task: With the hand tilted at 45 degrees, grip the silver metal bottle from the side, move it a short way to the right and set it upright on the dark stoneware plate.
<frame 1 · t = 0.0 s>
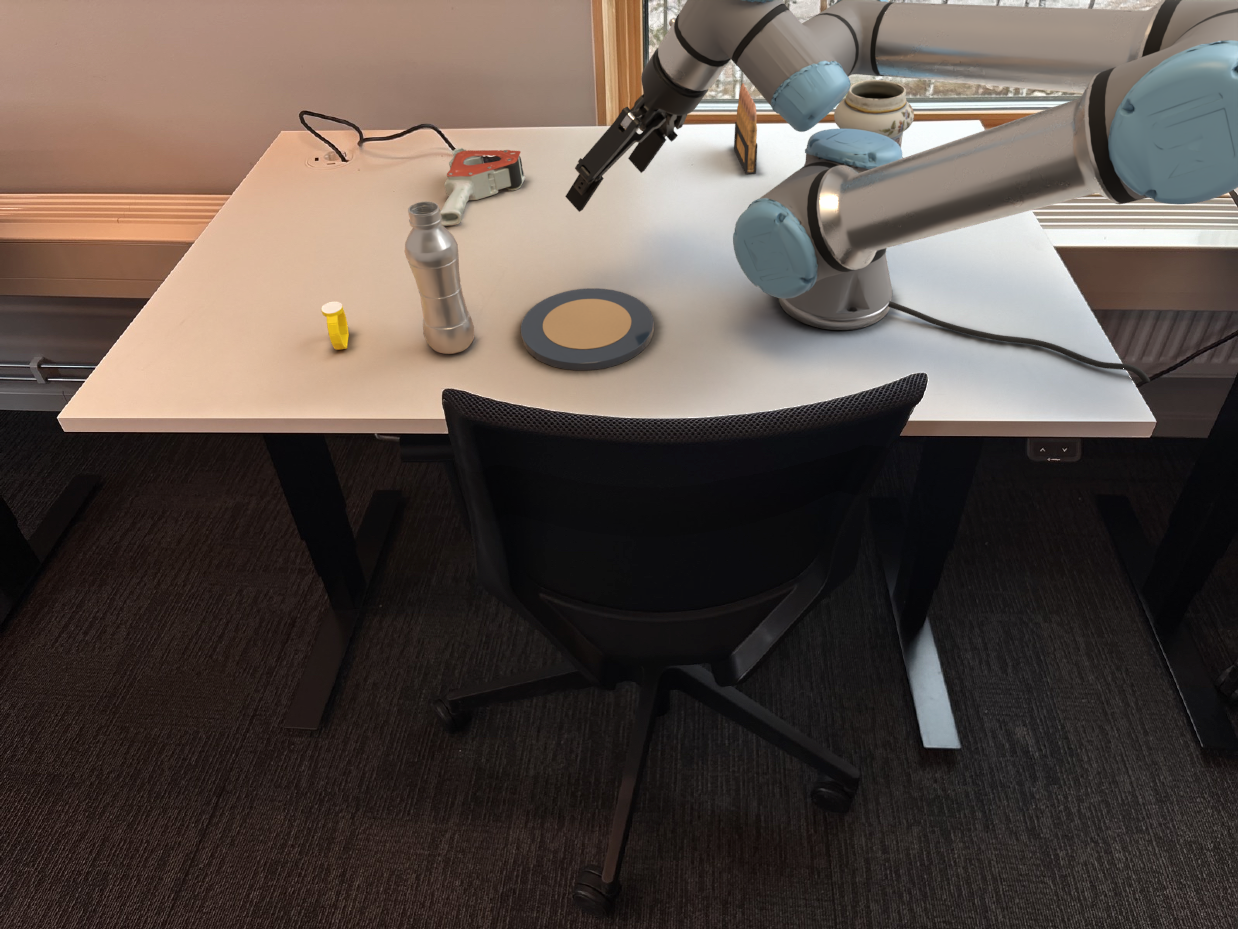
hand: (605, 183, 120), 15 cm above the table, tool tilted 35°, fingers open, 13 cm apart
watch: (343, 344, 122), on the table
ammunition clip: (744, 162, 159), on the table
silver metal bottle: (452, 347, 121), on the table
plate: (587, 330, 122), on the table
apothecary jar: (861, 202, 146), on the table
tape dispenser: (473, 196, 153), on the table
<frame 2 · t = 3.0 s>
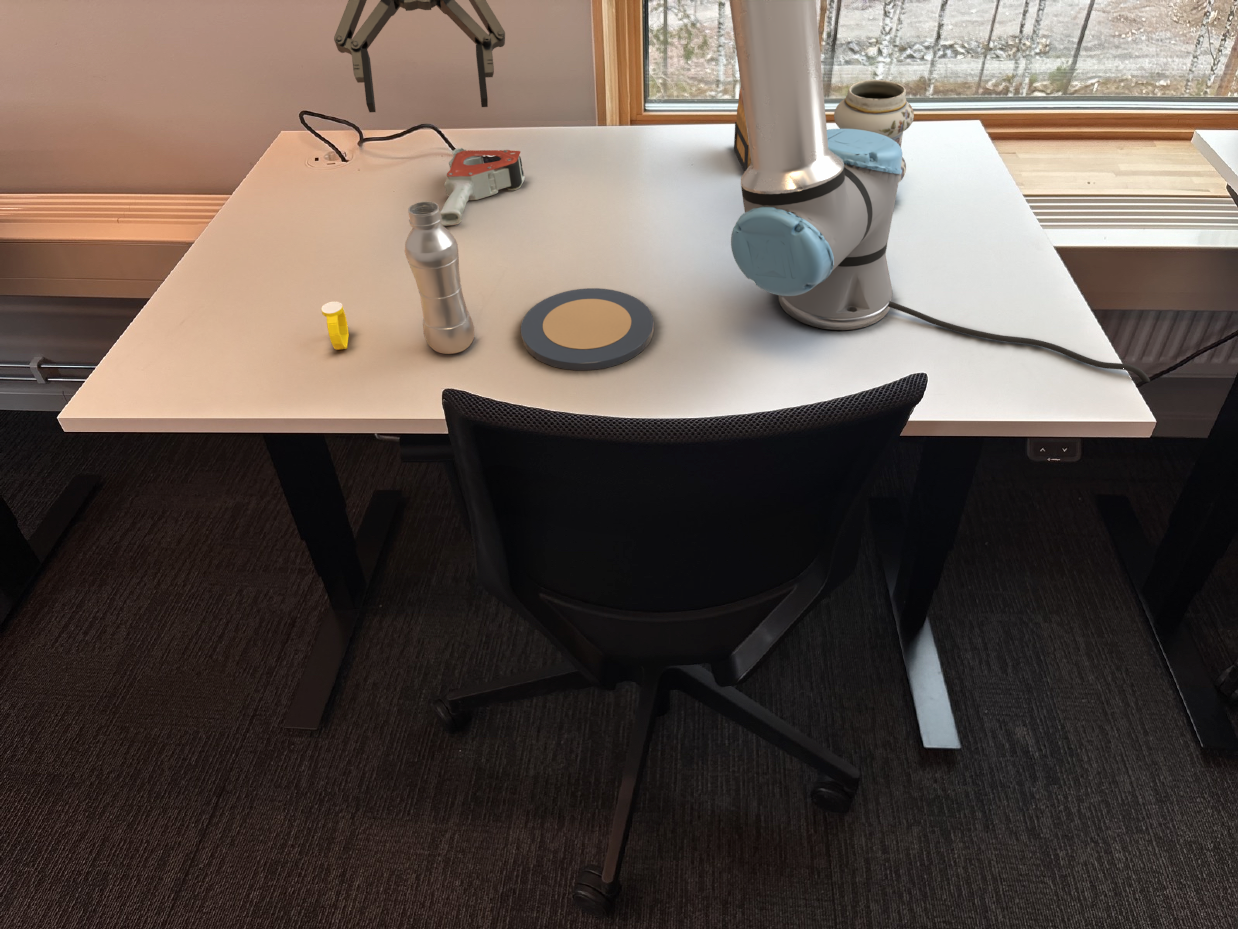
hand: (428, 105, 109), 28 cm above the table, tool tilted 40°, fingers open, 13 cm apart
nothing on the table moved.
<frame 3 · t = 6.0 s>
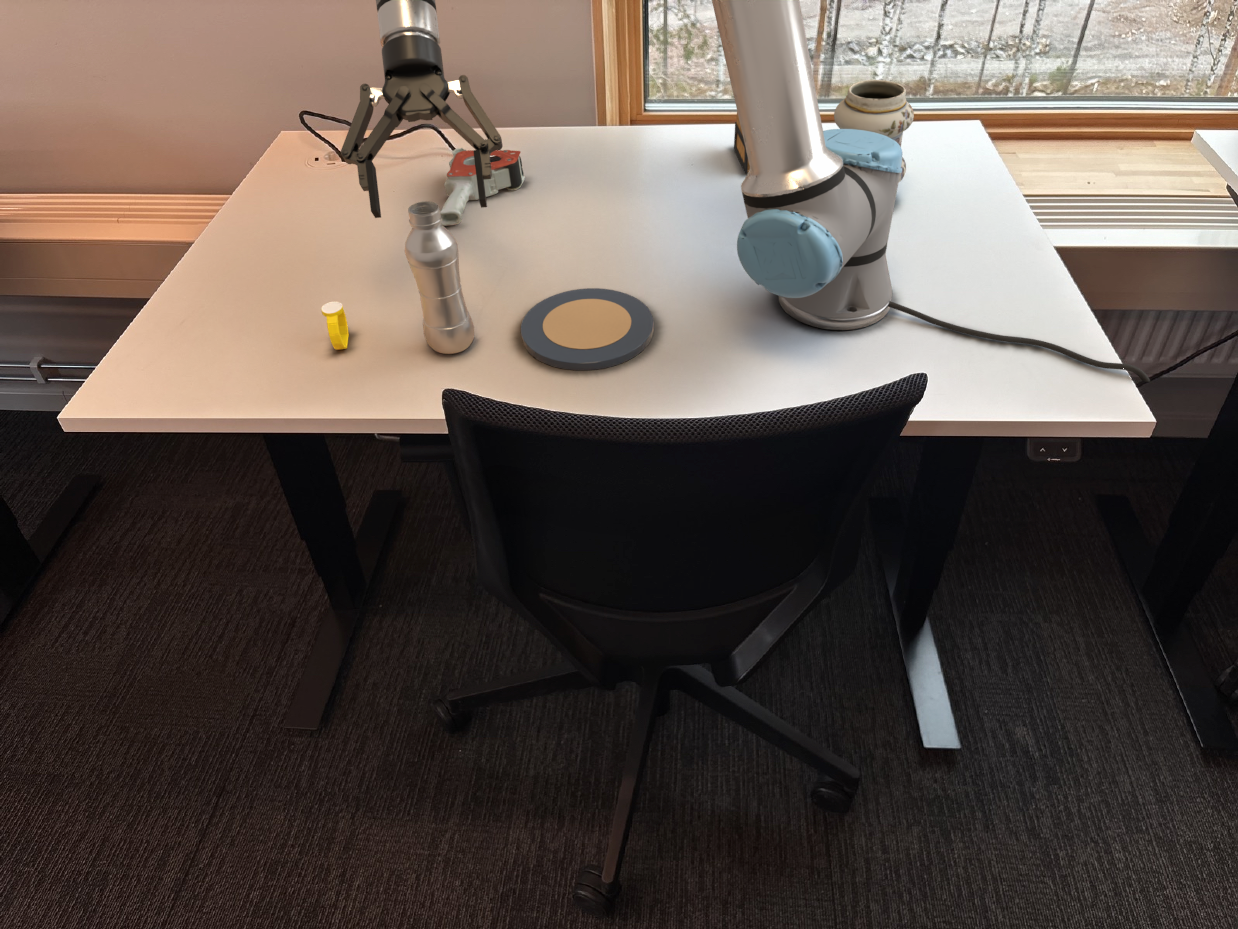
hand: (429, 209, 114), 17 cm above the table, tool tilted 45°, fingers open, 13 cm apart
nothing on the table moved.
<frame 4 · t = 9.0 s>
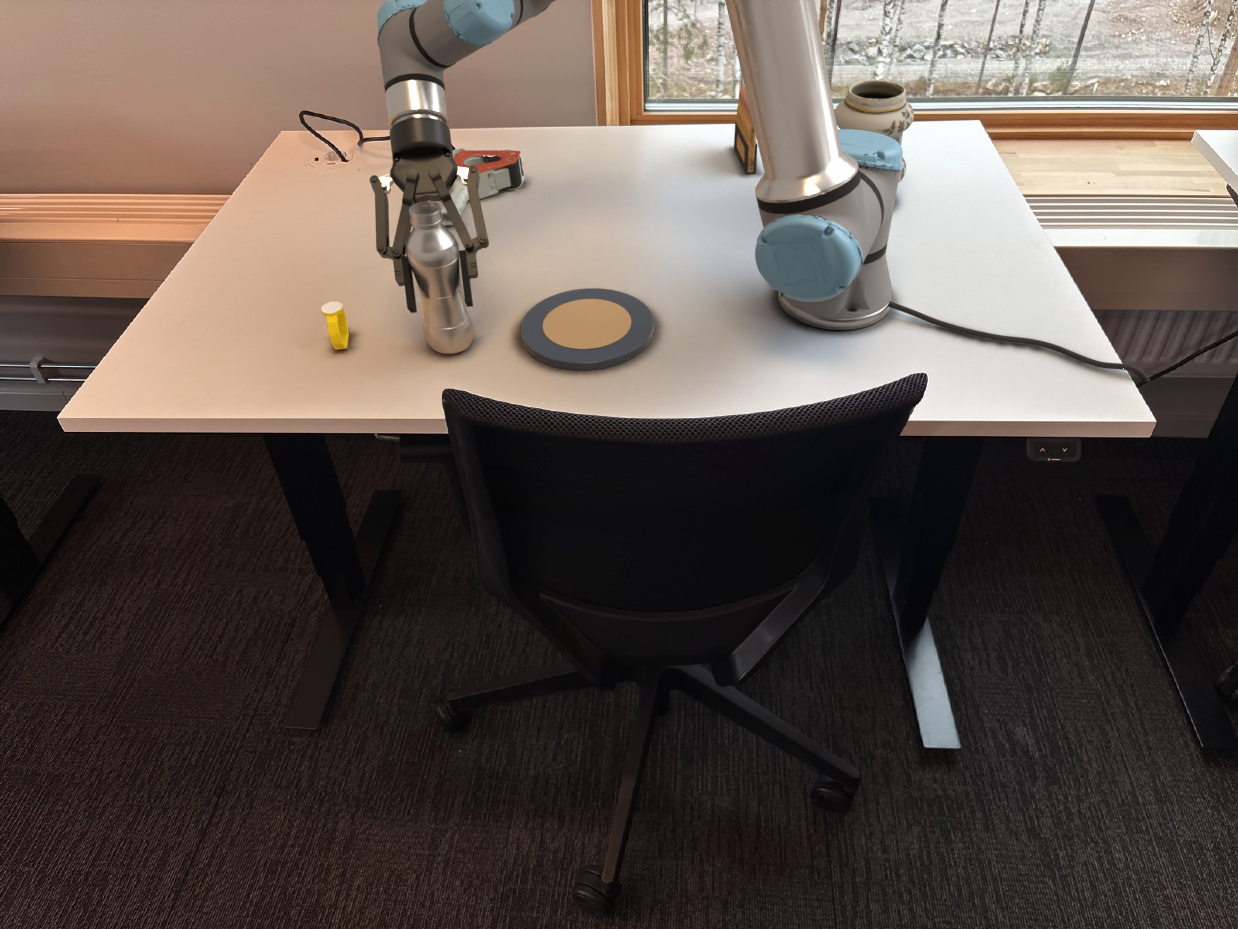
hand: (440, 306, 112), 8 cm above the table, tool tilted 45°, fingers closed on silver metal bottle, 6 cm apart
silver metal bottle: (452, 347, 121), on the table, touching gripper
everything else where it was.
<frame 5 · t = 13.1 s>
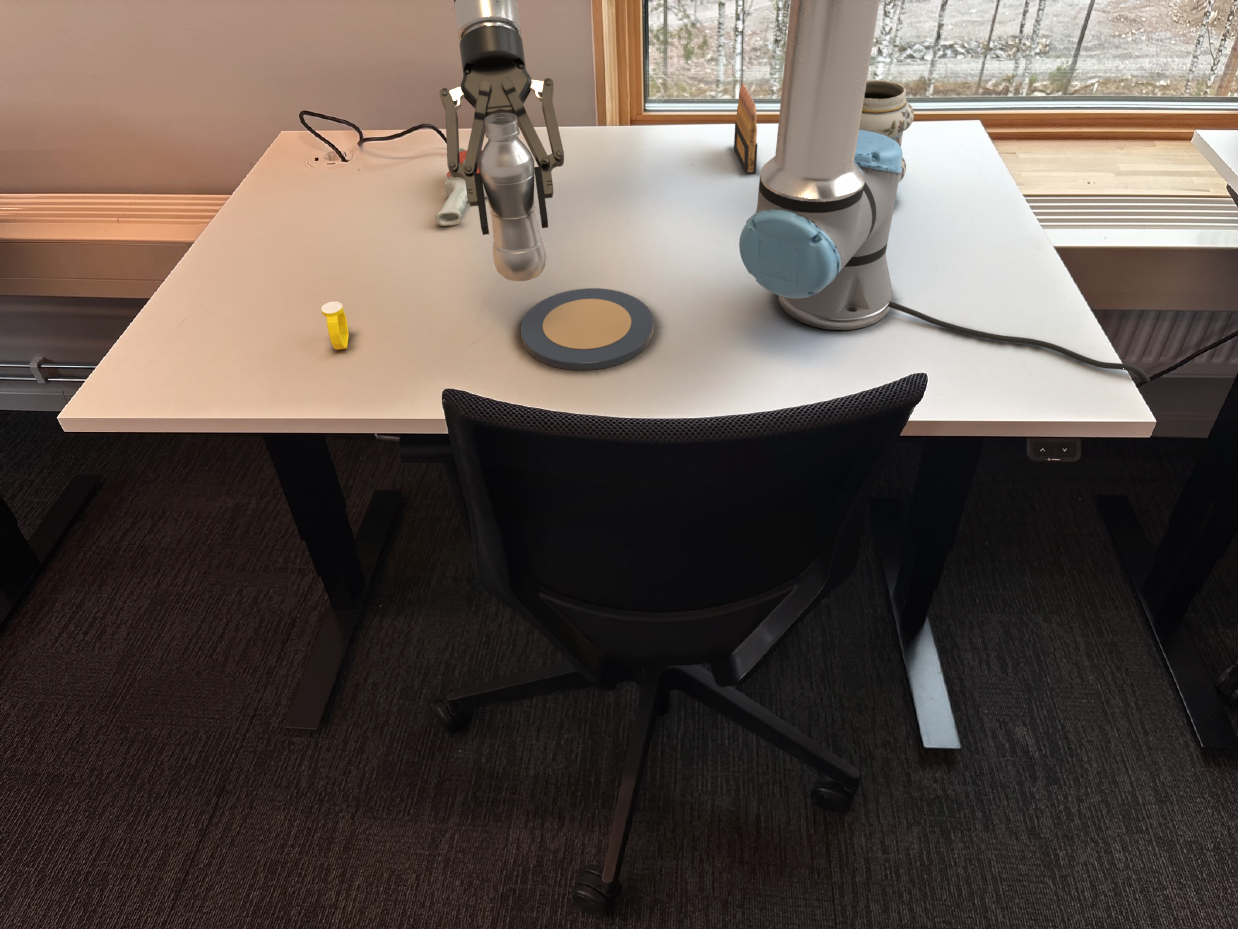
hand: (515, 227, 106), 18 cm above the table, tool tilted 45°, fingers closed on silver metal bottle, 6 cm apart
silver metal bottle: (521, 275, 115), point 10 cm above the table, touching gripper
everything else where it was.
when the fingers open (10 cm above the table, at t = 17.1 s): silver metal bottle stays where it is, resting on plate.
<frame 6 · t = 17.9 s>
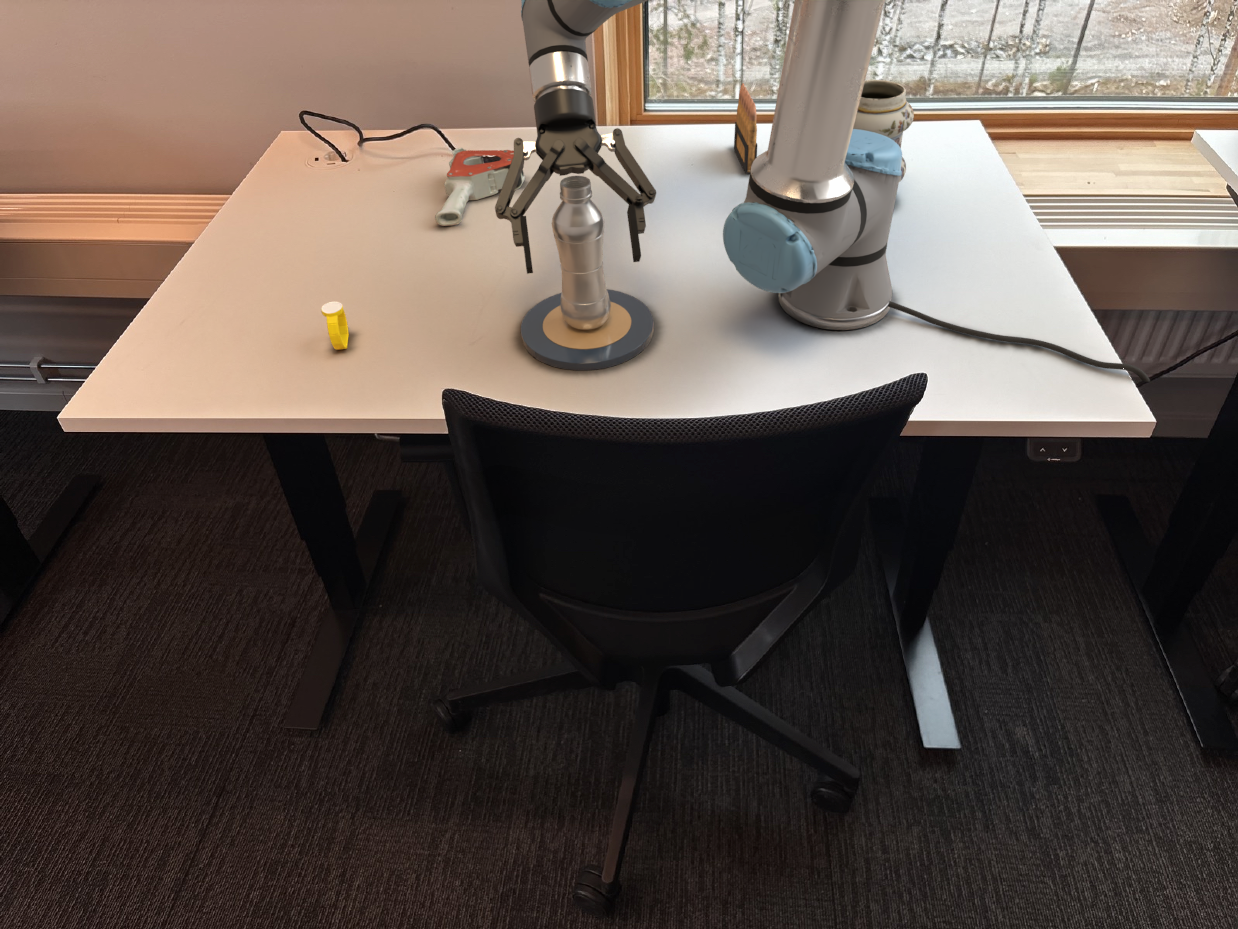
hand: (583, 265, 112), 11 cm above the table, tool tilted 45°, fingers open, 13 cm apart
silver metal bottle: (586, 323, 121), point 1 cm above the table, touching plate
everything else where it was.
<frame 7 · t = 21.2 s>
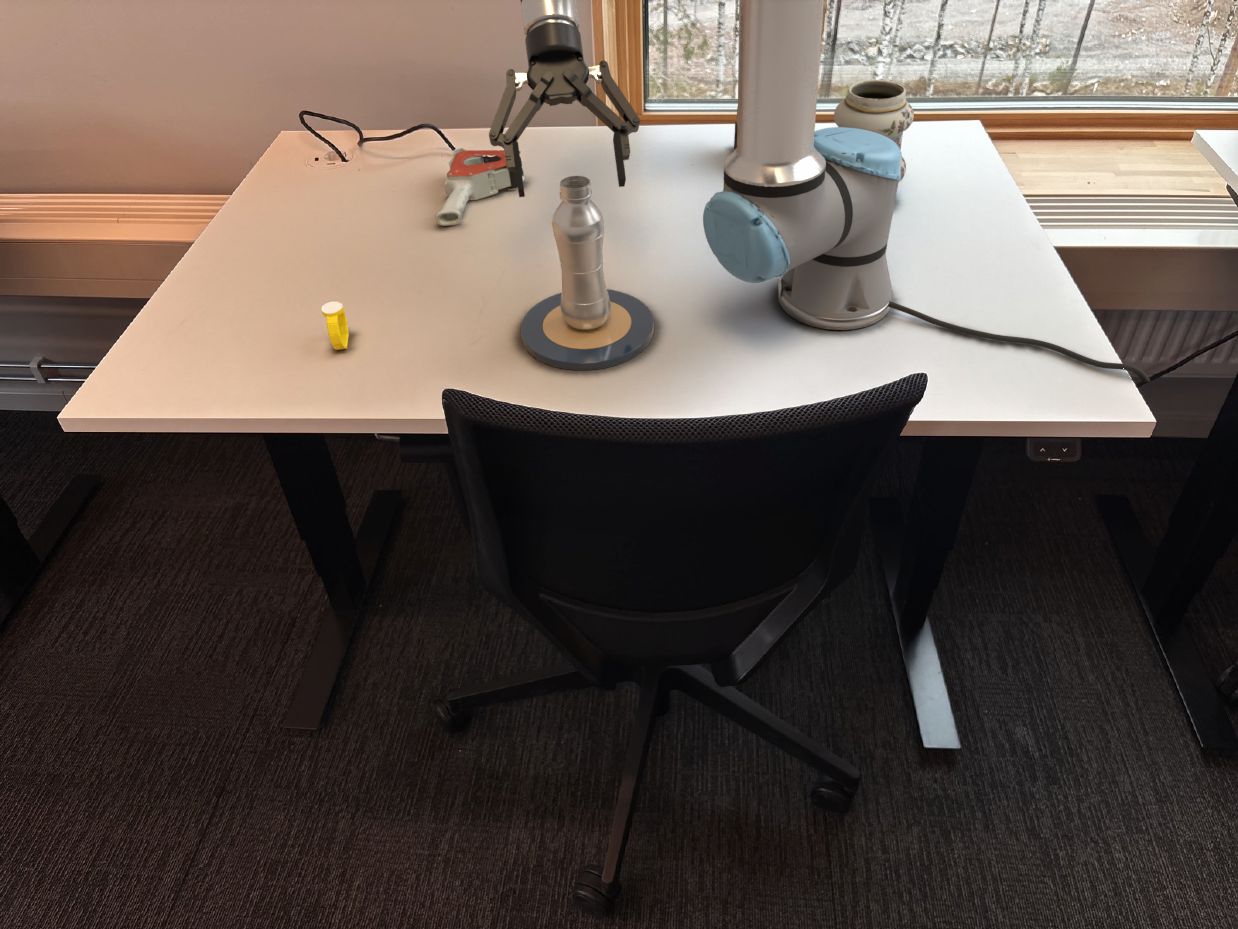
hand: (572, 188, 120), 15 cm above the table, tool tilted 45°, fingers open, 13 cm apart
nothing on the table moved.
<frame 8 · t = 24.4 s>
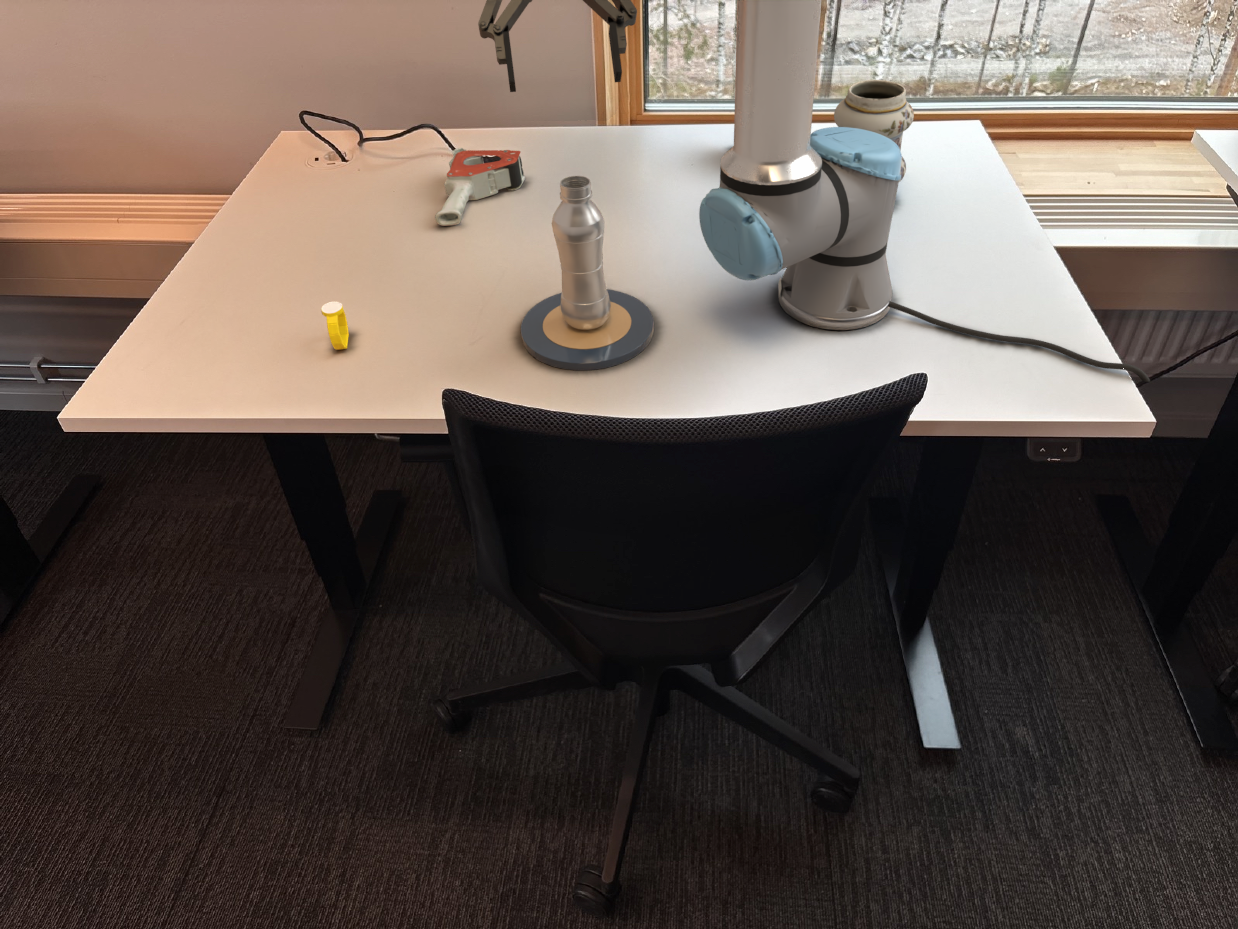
hand: (565, 82, 114), 28 cm above the table, tool tilted 45°, fingers open, 13 cm apart
nothing on the table moved.
at the end: silver metal bottle inside the target area on the plate (0.1 cm from its centre), point 1.1 cm above the plate's base; silver metal bottle tilted 0°; the gripper is holding nothing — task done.
